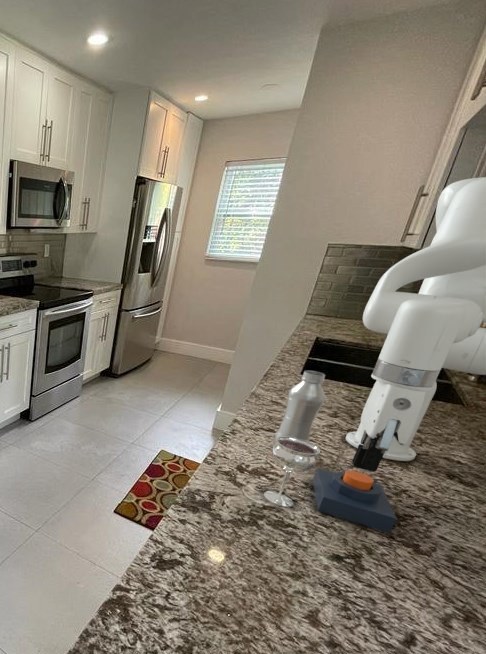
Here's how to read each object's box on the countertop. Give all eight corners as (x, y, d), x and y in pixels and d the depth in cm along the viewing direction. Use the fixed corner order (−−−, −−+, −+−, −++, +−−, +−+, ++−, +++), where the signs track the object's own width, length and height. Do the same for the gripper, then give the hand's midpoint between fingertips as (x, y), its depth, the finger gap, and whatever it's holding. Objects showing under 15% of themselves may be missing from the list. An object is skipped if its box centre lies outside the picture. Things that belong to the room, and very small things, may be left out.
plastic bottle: (310, 461, 93) (341, 379, 86) (277, 457, 94) (305, 376, 87) (296, 447, 99) (323, 370, 92) (265, 444, 100) (290, 367, 93)
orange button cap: (340, 475, 80) (344, 468, 79) (367, 483, 78) (371, 475, 77) (343, 485, 77) (347, 477, 76) (372, 493, 74) (375, 485, 74)
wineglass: (262, 504, 78) (281, 449, 73) (254, 485, 84) (271, 433, 79) (304, 514, 76) (326, 458, 71) (293, 493, 81) (313, 440, 77)
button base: (312, 480, 86) (320, 460, 84) (375, 498, 81) (384, 476, 79) (317, 511, 77) (326, 488, 75) (389, 533, 71) (401, 509, 70)
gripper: (451, 392, 61) (401, 494, 68) (421, 367, 73) (381, 456, 80) (384, 381, 65) (343, 479, 72) (366, 359, 77) (332, 445, 83)
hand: (363, 467), depth 76 cm, fingers closed
